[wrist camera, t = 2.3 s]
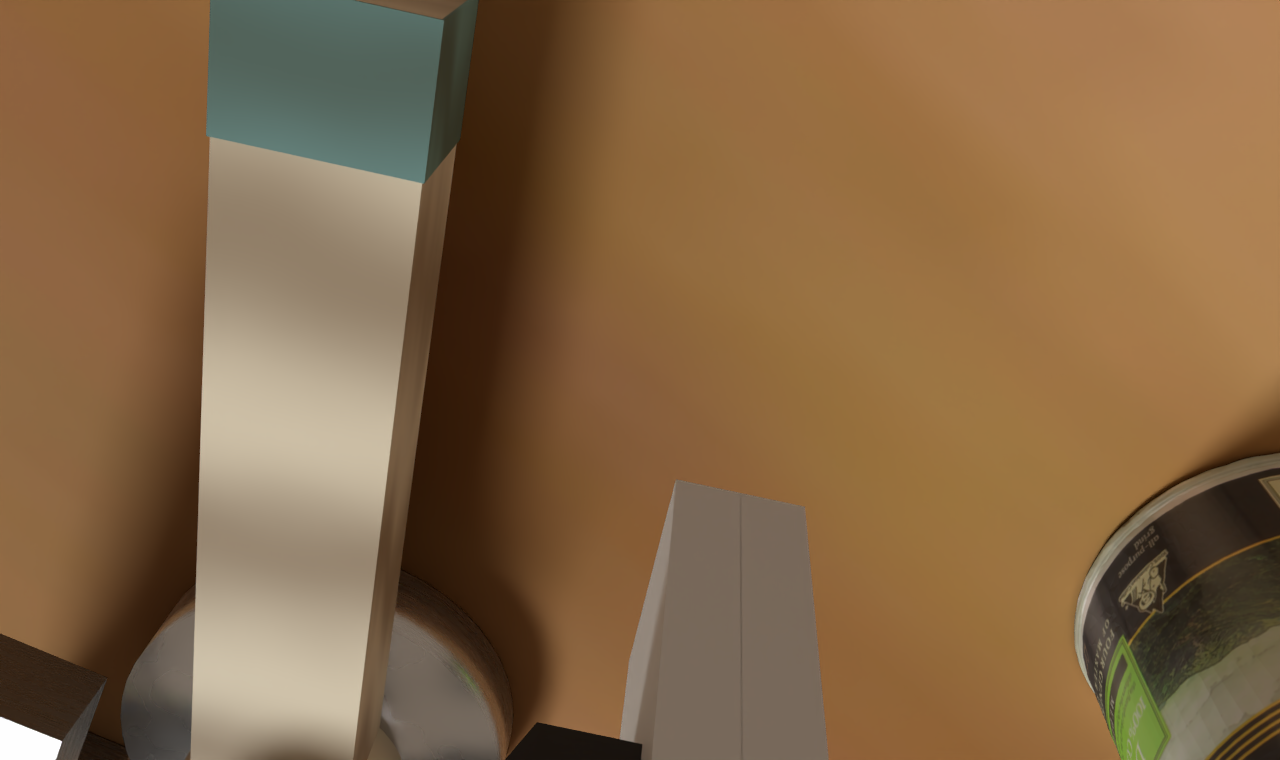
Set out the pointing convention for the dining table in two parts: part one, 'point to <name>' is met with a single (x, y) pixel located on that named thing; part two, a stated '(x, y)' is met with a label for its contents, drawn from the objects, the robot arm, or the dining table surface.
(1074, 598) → the dining table surface
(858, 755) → the dining table surface
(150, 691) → the pin plate
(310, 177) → the link
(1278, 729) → the coffee can
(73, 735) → the keeper
